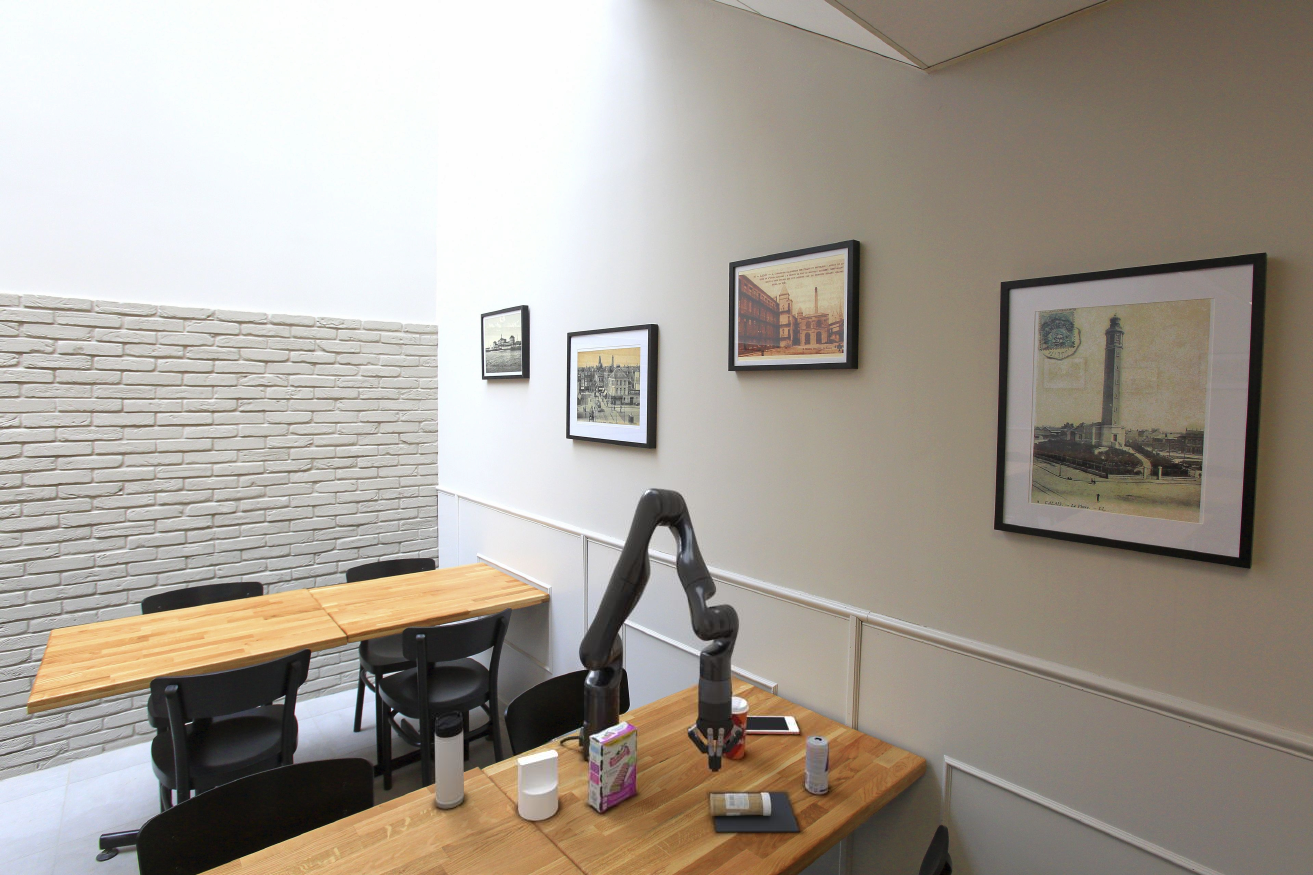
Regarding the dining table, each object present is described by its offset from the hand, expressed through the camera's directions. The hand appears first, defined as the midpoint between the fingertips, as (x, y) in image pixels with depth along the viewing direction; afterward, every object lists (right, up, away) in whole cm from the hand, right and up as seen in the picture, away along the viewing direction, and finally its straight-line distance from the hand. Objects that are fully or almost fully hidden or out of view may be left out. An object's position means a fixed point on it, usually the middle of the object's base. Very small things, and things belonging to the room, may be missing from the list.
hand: (714, 769), depth 147 cm
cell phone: (+18, -9, +41) cm, 46 cm away
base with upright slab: (-40, -11, +3) cm, 42 cm away
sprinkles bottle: (-1, -8, +1) cm, 8 cm away
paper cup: (+7, -10, +27) cm, 29 cm away
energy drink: (+26, -10, +11) cm, 30 cm away
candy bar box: (-23, -10, +6) cm, 26 cm away
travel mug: (-61, -10, +6) cm, 62 cm away
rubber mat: (+9, -11, +2) cm, 14 cm away
